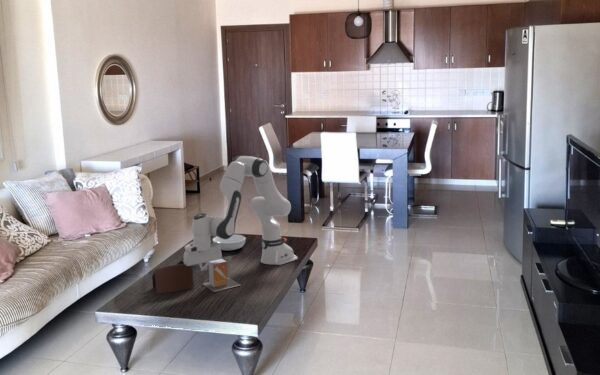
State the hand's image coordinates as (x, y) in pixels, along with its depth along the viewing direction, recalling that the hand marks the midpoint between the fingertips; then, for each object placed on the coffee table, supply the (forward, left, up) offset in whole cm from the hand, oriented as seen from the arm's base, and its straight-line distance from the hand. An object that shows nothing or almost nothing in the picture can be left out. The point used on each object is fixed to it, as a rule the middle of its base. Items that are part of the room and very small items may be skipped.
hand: (203, 270), depth 306 cm
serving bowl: (-42, -57, -11) cm, 71 cm away
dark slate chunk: (-5, -39, -11) cm, 41 cm away
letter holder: (+13, -12, -11) cm, 21 cm away
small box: (-8, -1, -10) cm, 13 cm away
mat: (-10, 0, -10) cm, 14 cm away
